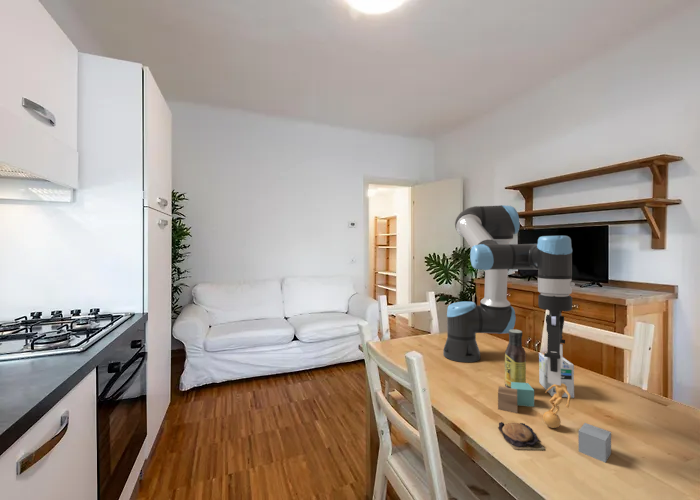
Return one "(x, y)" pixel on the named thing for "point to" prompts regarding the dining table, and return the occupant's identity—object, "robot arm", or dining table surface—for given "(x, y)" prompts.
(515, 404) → the walnut cube
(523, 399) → the teal painted cube
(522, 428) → the bread roll
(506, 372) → the sauce bottle
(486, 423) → the dining table surface
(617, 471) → the dining table surface
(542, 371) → the light bulb box
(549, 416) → the figurine
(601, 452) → the slate grey cube
